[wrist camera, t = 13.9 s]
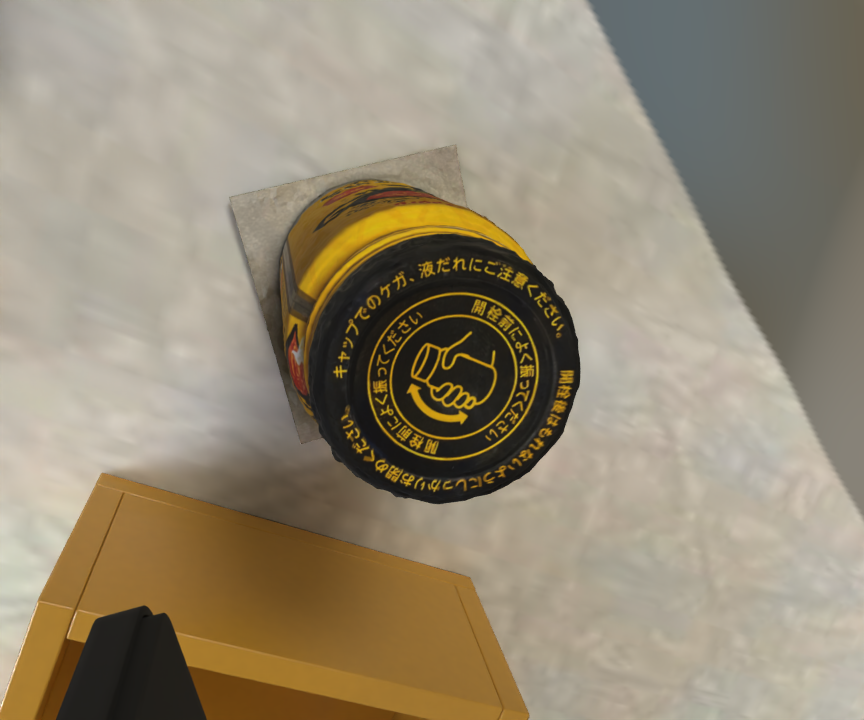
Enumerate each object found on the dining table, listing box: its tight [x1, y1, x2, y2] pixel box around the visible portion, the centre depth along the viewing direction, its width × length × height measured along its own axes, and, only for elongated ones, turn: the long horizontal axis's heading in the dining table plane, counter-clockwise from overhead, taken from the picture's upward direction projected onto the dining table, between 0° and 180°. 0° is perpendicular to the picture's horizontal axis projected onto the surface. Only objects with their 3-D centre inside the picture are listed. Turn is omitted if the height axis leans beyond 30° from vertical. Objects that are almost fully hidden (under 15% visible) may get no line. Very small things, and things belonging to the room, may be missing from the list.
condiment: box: [229, 145, 580, 504], centre depth 20 cm, size 7×8×12 cm
